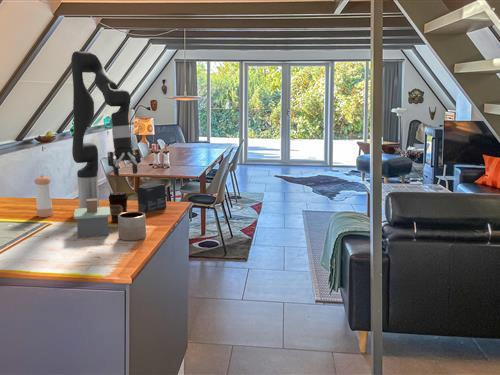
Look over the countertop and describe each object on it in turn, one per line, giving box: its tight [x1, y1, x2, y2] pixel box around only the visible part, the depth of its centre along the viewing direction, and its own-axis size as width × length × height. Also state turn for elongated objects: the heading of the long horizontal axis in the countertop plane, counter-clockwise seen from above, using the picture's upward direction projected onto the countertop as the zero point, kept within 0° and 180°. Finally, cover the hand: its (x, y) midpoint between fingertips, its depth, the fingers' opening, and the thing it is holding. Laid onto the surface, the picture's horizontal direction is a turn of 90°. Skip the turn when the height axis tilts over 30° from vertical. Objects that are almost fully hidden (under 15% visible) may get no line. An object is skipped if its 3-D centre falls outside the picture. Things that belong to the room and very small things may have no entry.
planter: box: [117, 211, 147, 242], centre depth 204 cm, size 11×11×10 cm
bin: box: [76, 217, 110, 239], centre depth 211 cm, size 12×12×8 cm
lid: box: [73, 198, 111, 220], centre depth 209 cm, size 14×14×7 cm
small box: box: [136, 182, 167, 213], centre depth 252 cm, size 13×7×12 cm, turn 144°
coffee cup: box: [108, 191, 129, 223], centre depth 228 cm, size 9×8×13 cm
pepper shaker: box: [33, 174, 54, 218], centre depth 237 cm, size 7×7×19 cm
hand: (126, 174), depth 218 cm, fingers open, 8 cm apart
